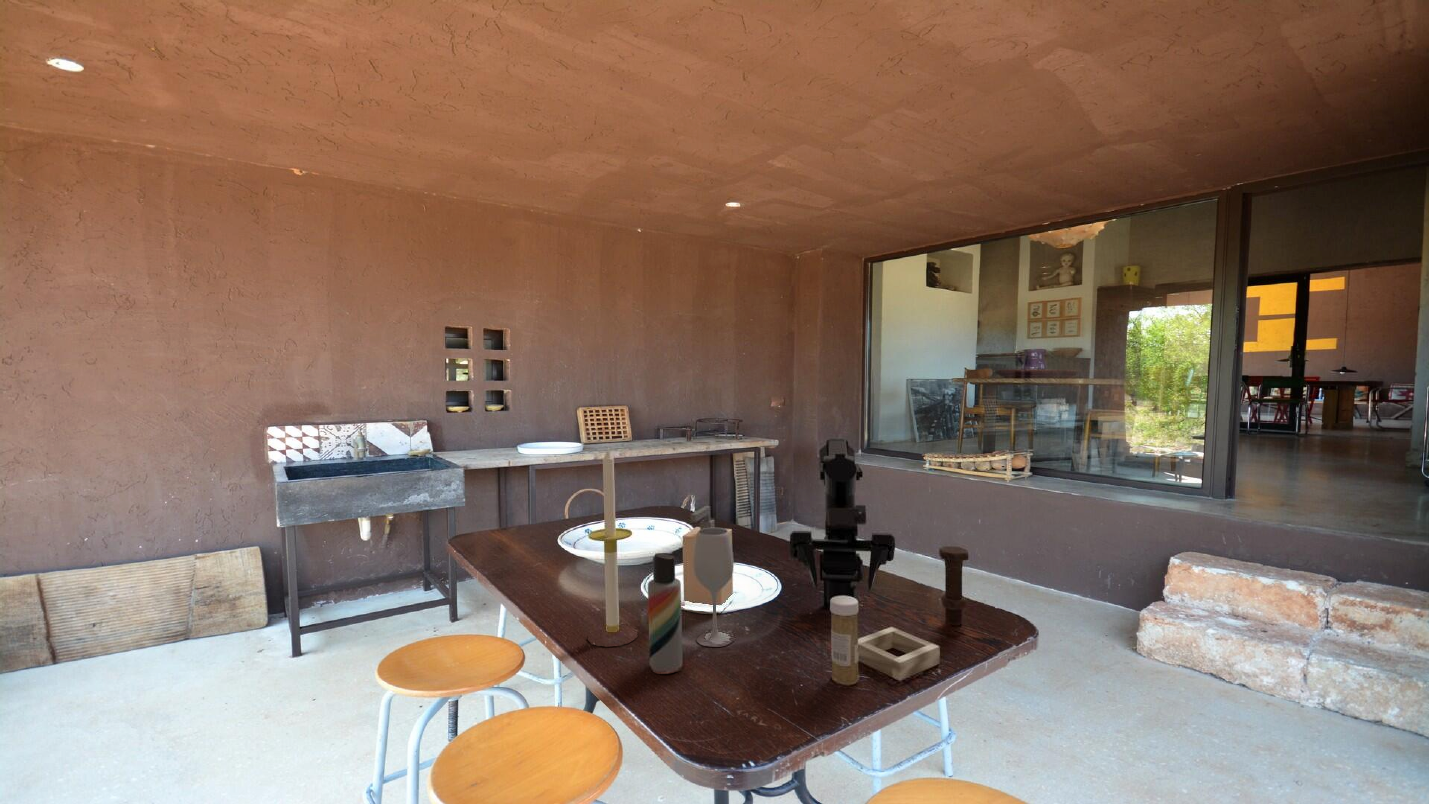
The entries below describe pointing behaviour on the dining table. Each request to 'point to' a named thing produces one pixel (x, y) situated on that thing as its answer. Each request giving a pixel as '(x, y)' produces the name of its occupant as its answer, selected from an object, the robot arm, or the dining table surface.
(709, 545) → the wineglass
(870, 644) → the collar
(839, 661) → the sprinkles bottle
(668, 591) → the lotion bottle
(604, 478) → the candle
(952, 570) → the bolt
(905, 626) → the dining table surface
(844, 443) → the robot arm
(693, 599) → the soap dispenser
